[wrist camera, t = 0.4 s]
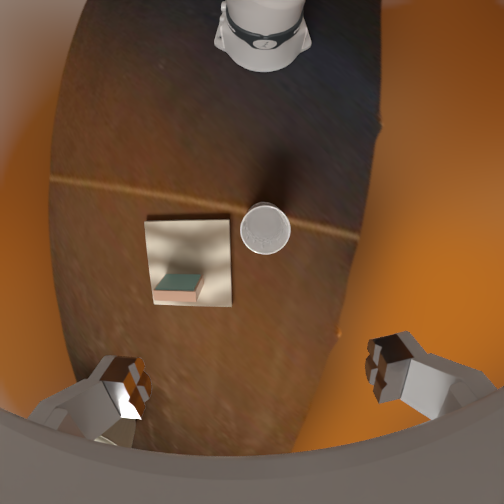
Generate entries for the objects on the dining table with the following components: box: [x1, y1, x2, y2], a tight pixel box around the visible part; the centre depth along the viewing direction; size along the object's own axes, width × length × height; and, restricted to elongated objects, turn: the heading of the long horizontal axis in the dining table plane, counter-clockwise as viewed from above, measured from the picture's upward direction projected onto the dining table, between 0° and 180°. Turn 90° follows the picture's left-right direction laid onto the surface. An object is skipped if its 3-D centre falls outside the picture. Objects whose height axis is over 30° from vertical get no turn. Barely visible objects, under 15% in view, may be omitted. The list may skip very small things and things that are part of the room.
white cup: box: [240, 202, 291, 254], centre depth 50 cm, size 8×8×10 cm
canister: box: [94, 417, 136, 448], centre depth 62 cm, size 18×18×21 cm
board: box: [144, 219, 232, 307], centre depth 57 cm, size 18×17×1 cm
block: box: [153, 274, 204, 302], centre depth 53 cm, size 2×8×8 cm, turn 90°
